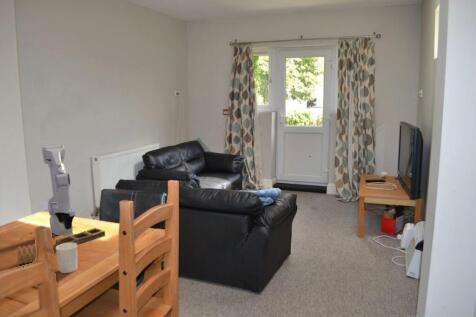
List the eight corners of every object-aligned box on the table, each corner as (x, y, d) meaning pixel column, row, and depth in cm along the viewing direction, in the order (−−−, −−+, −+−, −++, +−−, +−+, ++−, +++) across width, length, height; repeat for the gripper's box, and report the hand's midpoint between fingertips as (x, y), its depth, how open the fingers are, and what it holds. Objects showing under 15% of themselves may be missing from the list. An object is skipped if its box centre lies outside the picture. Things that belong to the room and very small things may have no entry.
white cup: (61, 265, 168) (59, 242, 166) (81, 264, 168) (79, 242, 166) (54, 274, 160) (52, 250, 158) (75, 273, 160) (73, 249, 159)
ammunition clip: (19, 276, 158) (15, 247, 156) (19, 274, 160) (16, 245, 158) (49, 270, 163) (46, 242, 161) (48, 269, 165) (46, 241, 162)
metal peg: (60, 234, 189) (59, 222, 188) (68, 232, 192) (67, 220, 191) (64, 236, 187) (63, 224, 186) (72, 234, 190) (71, 221, 189)
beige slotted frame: (55, 244, 190) (55, 239, 190) (96, 231, 206) (95, 227, 206) (64, 248, 185) (64, 243, 185) (105, 235, 201) (104, 231, 201)
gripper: (47, 198, 188) (50, 226, 191) (63, 204, 179) (65, 233, 182) (62, 195, 193) (64, 222, 196) (78, 200, 184) (80, 229, 187)
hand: (66, 227), depth 189 cm, fingers closed on metal peg, 4 cm apart
